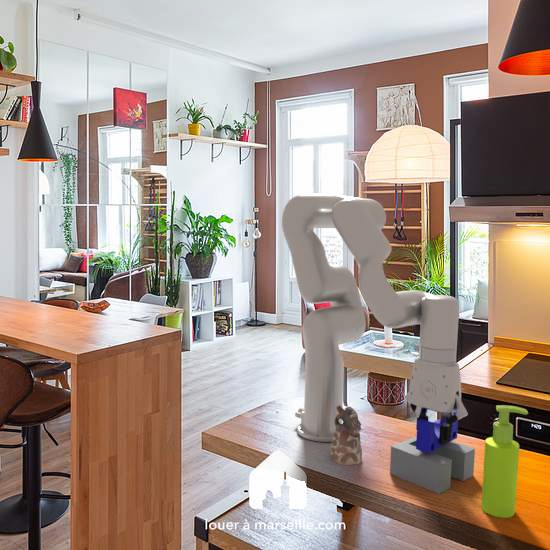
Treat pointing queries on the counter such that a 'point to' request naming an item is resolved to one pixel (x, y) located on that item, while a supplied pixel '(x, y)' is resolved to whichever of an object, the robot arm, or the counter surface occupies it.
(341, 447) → the figurine
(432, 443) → the cable clip
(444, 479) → the slotted block
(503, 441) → the soap dispenser
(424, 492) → the counter surface
